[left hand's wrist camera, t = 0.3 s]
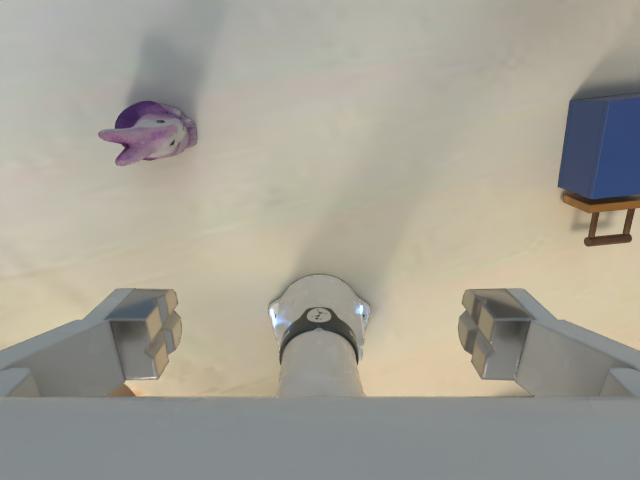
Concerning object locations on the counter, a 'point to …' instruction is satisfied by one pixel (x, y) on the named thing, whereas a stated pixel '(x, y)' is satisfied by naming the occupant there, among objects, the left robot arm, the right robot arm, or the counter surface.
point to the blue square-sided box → (602, 147)
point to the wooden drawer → (601, 206)
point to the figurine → (150, 132)
